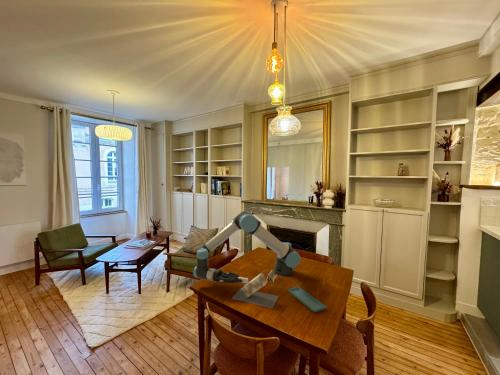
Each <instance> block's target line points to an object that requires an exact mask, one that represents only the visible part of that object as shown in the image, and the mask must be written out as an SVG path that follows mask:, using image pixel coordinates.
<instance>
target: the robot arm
mask: <svg viewBox="0 0 500 375" xmlns="http://www.w3.org/2000/svg"><path fill="white" fill-rule="evenodd" d="M241 230H242V231H244V232H246V233H247V234H248V235H250V236H255V237H256V238H257V239H258V240H259V241H260V242H262V243H263V244H264V245H265V246H266V247H268V248H269V249H271V251H273V252H274V253H275V254H276V259H275V261H276V262H275V264H274V267H273V272H274V273H275V274H276V273H277V275H279V276H290V275H292V274H294V268H296V267H298V265H299V264H300V263H301V255H300V254H299V252H297V251H296V250H294V249H293V247H292V243H290V242H288V241H287V242H283V241H281V240H279V239H278V238H277V237H276V236H275V235H274V234H272V233H271V232H270V231H269V230H268V229H267V228H265V227H264V226H262V222H261V221H260V220H259V219H258V218H257V217H255V216H254V215H253V214H252V213H250V212H249V211H243V212H242V211H241V212H240V213H238V214H237V215H236V216H235V217H234V218H233V219H232V220H231V222H230V223H229V224H227V225H226V226H225V227H224V228H223V229H221V230H220V231H219V232H218V233H217V234H215V235H214V236H213V237H211V238H210V239H209V240H208V241H206V242H205V243H204V244H202V245H200V246H199V247H198V248H197V251H196V266H195V267H193V268H194V269H193V272H192V275H193V276H194V277H195V278H197V279H199V280H200V279H201V280H207V281H212V282H217V283H220V284H225V283H226V284H227V283H228V284H238V283H242V284H247V283H248V282H249V277H242V276H240V274H239V273H234V272H232V271H227V272H223V271H222V269H216V268H211V267H209V254H211V253H212V252H213V251H214V250H215V249H217V247H219V246H220V245H221V244H223V243H224V242H225V241H226V240H228V239H229V238H230V237H231V236H233V234H235V233H236V232H238V231H241Z"/></svg>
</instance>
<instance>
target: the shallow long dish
mask: <svg viewBox="0 0 500 375" xmlns="http://www.w3.org/2000/svg"><path fill="white" fill-rule="evenodd" d="M287 291H288V292H289V293H290V294H291V295H292V296H293V297H295V299H297V300H298V301H299V302H300V303H302V304H303V305H304V306H305V307H306V308H308V310H310V311H311V312H313V313H317V312H321V311H324V310H325V309H326V308H327V305H325V304H323V303H322V302H321V301H319V299H317V298H315V297H314V296H312V295H311V294H310V293H308V291H306V290H304V289H303V288H302V287H300V286H296V287H295V286H294V287H292V288H288V289H287Z"/></svg>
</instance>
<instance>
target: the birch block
mask: <svg viewBox="0 0 500 375" xmlns="http://www.w3.org/2000/svg"><path fill="white" fill-rule="evenodd" d="M268 282H269V279H268V278H266V276H265V275H264V273H263V272H261V273H259V274H258V275H257V276H255V277H254V278H253V279H251V280H250V281H248V283H247V284H246V283H244V284H243V286H242V287H241V288H240V289H241V291H242V293H243V294H244V296H245V297H246V298H247V297H249V296H250V295H251V294H253V293H254V292H258V291H260V289H262V288H264V287H265V286H266V285H267V283H268Z"/></svg>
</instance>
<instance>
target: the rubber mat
mask: <svg viewBox="0 0 500 375" xmlns="http://www.w3.org/2000/svg"><path fill="white" fill-rule="evenodd" d="M278 299H279V295H275V294H271V293H270V294H269V293H264V292H260V291H256V292H254V293H253V294H251V295H250V296H249V297H247V298H246V297H245V296H244V294H243V293H242V291H241V288H239V289H238V290H237V292H236V293H235V294H234V295H233V296H232V297H231V300H235V301H238V302H239V301H240V302H245V303H248V304H253V305H257V306H261V307H266V308H270V309H272V310H273V309H274V307H275V304H276V302H277V300H278Z"/></svg>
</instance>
